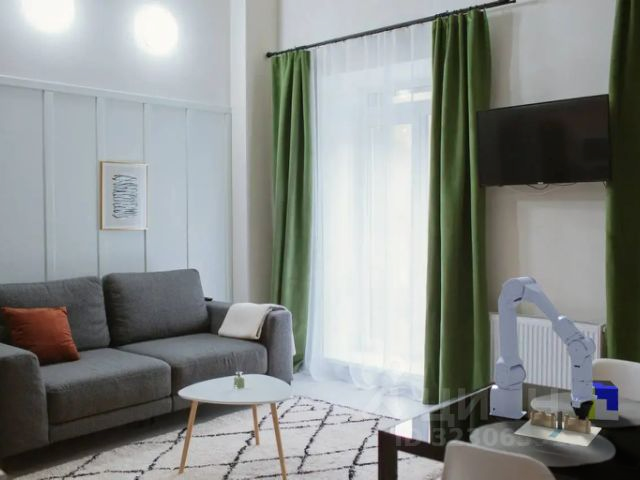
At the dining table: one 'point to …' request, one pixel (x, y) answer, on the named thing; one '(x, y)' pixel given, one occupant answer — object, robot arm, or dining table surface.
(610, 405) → the puzzle toy
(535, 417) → the fence fixed panel
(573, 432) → the mat
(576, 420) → the fence panel
